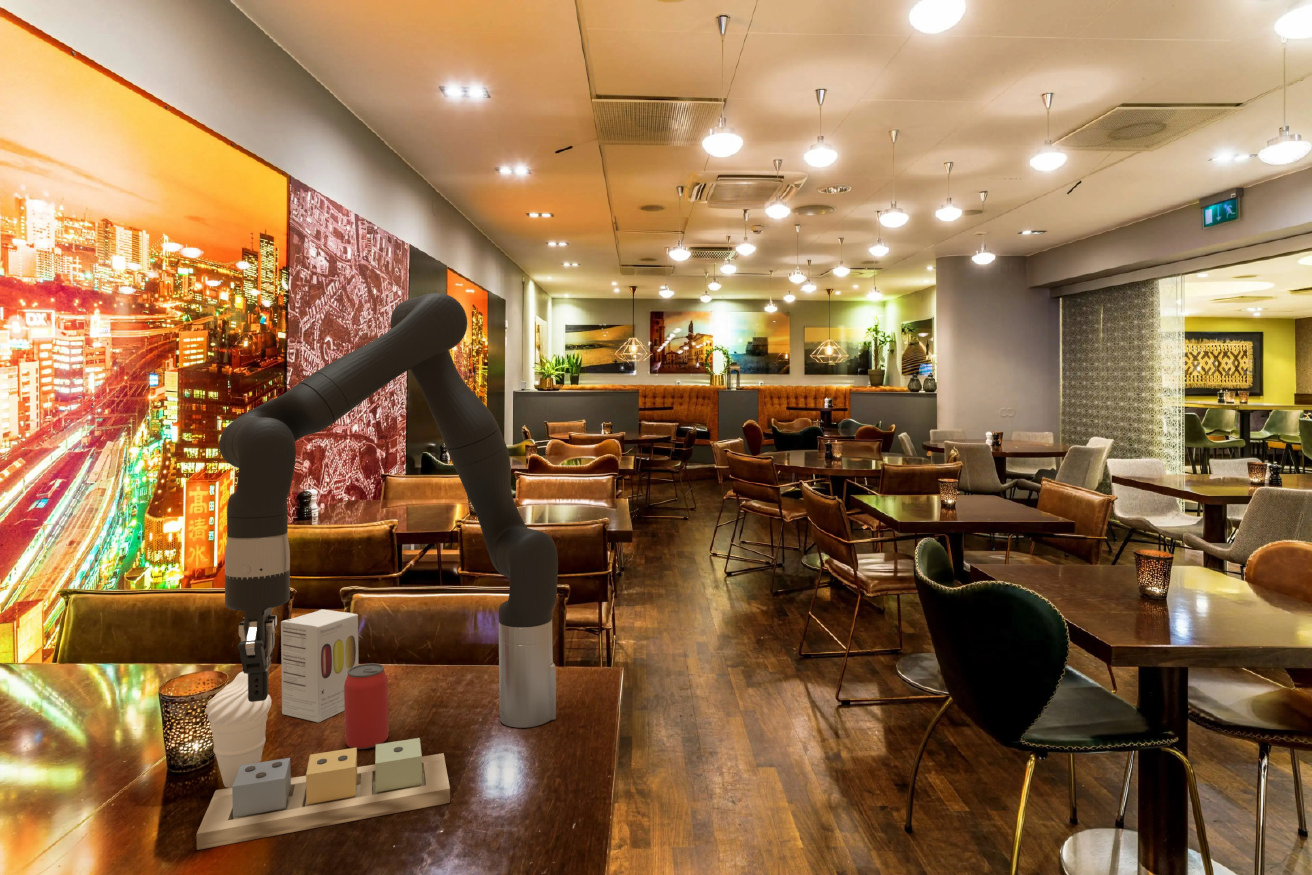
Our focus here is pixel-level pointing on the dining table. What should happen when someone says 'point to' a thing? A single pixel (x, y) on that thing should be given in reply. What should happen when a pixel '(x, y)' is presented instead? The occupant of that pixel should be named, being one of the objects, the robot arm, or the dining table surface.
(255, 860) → the dining table surface
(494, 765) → the dining table surface
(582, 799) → the dining table surface
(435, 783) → the board
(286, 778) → the tile three
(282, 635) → the supplement box
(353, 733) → the beer can
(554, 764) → the dining table surface
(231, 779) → the soft serve ice cream cone
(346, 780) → the tile two
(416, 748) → the tile one
